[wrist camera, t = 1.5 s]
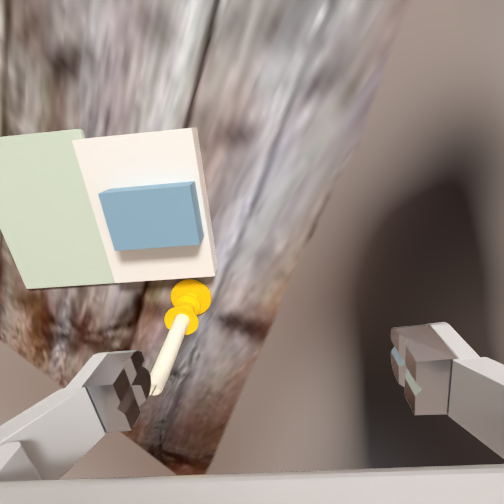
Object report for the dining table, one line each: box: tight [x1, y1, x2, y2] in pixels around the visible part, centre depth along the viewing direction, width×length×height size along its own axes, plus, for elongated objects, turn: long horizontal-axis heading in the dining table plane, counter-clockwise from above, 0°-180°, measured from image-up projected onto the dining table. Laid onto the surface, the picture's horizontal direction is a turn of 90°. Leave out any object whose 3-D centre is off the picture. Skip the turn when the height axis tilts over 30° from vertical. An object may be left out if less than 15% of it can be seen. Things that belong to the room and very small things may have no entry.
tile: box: [98, 181, 204, 251], centre depth 31 cm, size 6×9×2 cm, turn 95°
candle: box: [149, 279, 212, 396], centre depth 32 cm, size 5×5×16 cm
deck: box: [72, 128, 218, 283], centre depth 33 cm, size 16×12×2 cm
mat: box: [0, 129, 115, 289], centre depth 35 cm, size 18×13×1 cm
